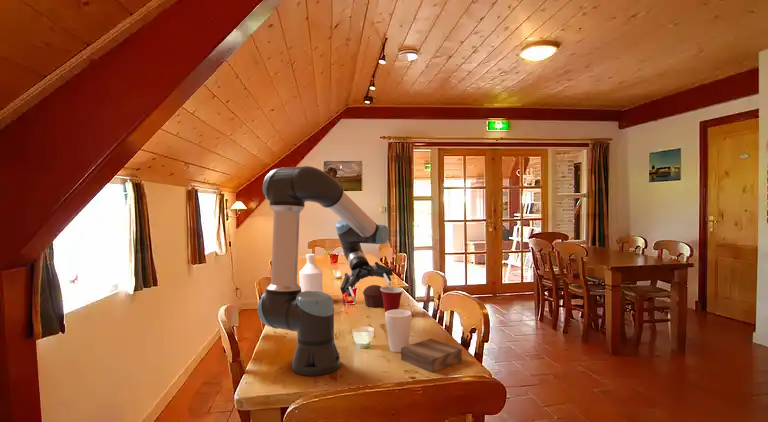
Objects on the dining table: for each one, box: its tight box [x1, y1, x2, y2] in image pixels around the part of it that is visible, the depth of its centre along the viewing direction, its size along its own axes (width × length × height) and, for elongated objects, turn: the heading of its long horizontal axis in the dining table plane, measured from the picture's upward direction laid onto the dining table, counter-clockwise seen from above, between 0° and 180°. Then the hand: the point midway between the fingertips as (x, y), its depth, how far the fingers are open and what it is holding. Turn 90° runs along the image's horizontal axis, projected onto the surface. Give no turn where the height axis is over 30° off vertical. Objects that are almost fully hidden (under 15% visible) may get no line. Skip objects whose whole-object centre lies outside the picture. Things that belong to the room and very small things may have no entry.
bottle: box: [298, 253, 323, 292], centre depth 222 cm, size 12×12×25 cm
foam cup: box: [384, 308, 413, 353], centre depth 152 cm, size 10×9×13 cm
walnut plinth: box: [400, 338, 463, 373], centre depth 141 cm, size 14×14×4 cm
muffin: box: [362, 284, 384, 309], centre depth 214 cm, size 12×11×10 cm
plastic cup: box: [380, 286, 404, 313], centre depth 198 cm, size 11×11×12 cm
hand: (372, 292), depth 153 cm, fingers open, 13 cm apart
